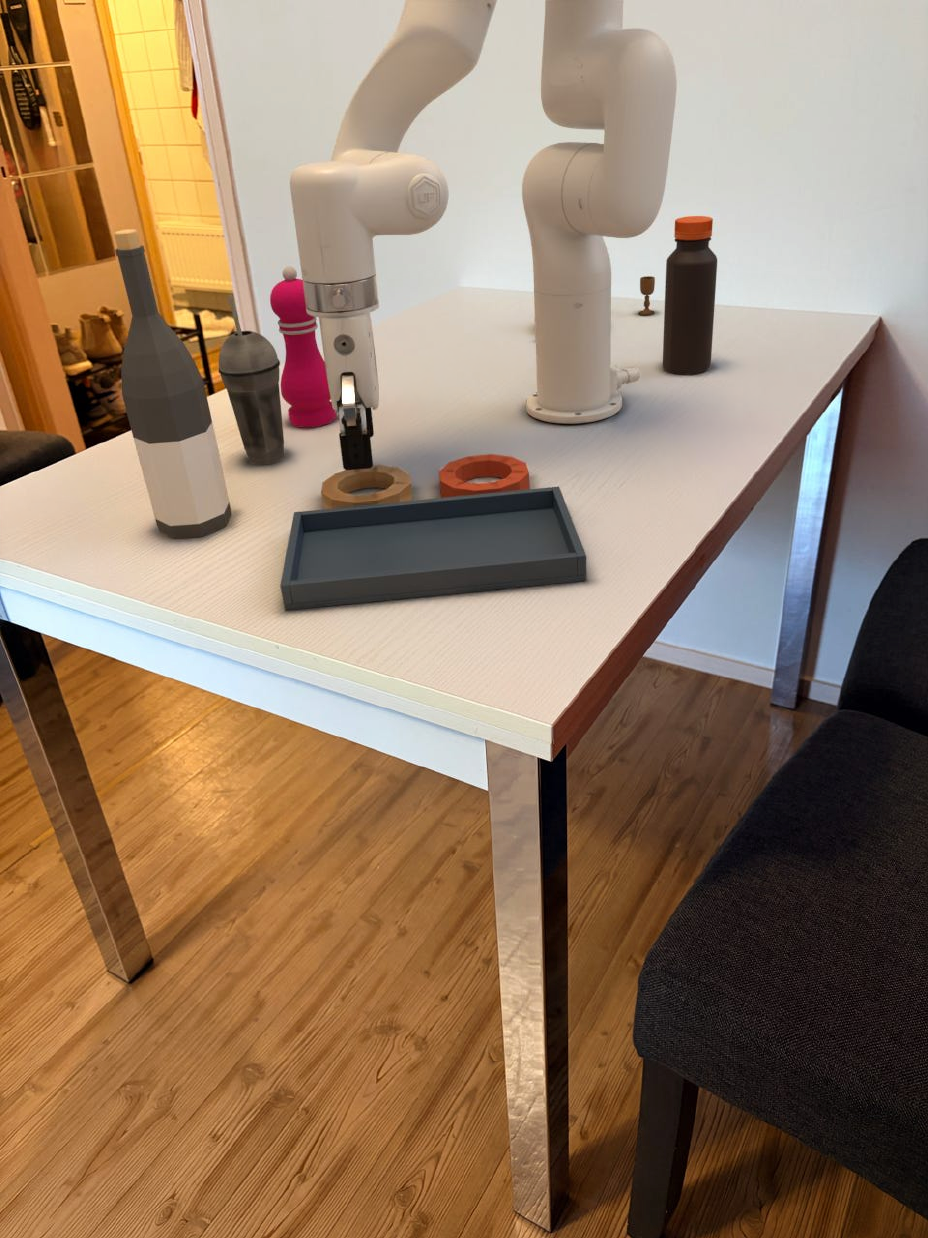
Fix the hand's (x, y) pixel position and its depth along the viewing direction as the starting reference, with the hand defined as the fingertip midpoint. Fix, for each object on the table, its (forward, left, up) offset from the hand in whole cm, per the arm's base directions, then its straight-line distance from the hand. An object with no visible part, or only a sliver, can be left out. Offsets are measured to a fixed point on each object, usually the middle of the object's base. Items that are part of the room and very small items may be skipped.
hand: (359, 452), depth 107 cm
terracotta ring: (-11, +9, -4) cm, 15 cm away
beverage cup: (+6, -16, -4) cm, 18 cm away
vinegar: (-55, -8, -4) cm, 56 cm away
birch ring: (+1, +3, -4) cm, 6 cm away
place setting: (-59, -35, -4) cm, 69 cm away
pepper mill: (-4, -25, -4) cm, 26 cm away
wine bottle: (+19, -3, -4) cm, 20 cm away
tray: (+2, +20, -4) cm, 20 cm away
